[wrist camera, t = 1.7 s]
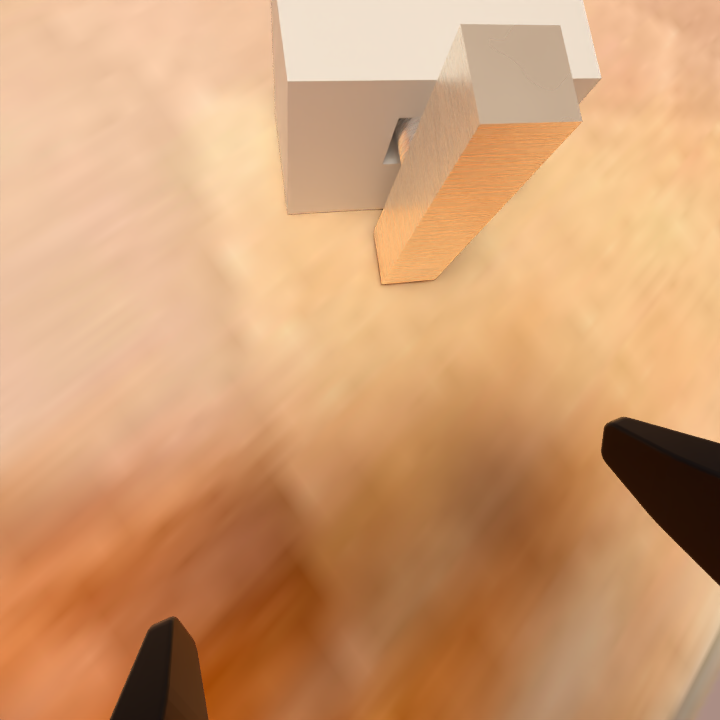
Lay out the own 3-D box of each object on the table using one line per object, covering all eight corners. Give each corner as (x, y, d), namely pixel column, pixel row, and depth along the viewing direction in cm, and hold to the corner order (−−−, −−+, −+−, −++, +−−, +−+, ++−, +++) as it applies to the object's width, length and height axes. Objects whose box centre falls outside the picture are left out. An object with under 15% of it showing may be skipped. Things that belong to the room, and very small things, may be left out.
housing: (493, 202, 27) (601, 78, 18) (287, 214, 25) (287, 81, 16) (475, 109, 28) (569, -55, 19) (275, 114, 26) (268, -69, 17)
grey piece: (434, 279, 25) (582, 121, 13) (381, 284, 25) (480, 124, 12) (393, 38, 27) (484, -304, 15) (344, 37, 27) (394, -317, 14)
